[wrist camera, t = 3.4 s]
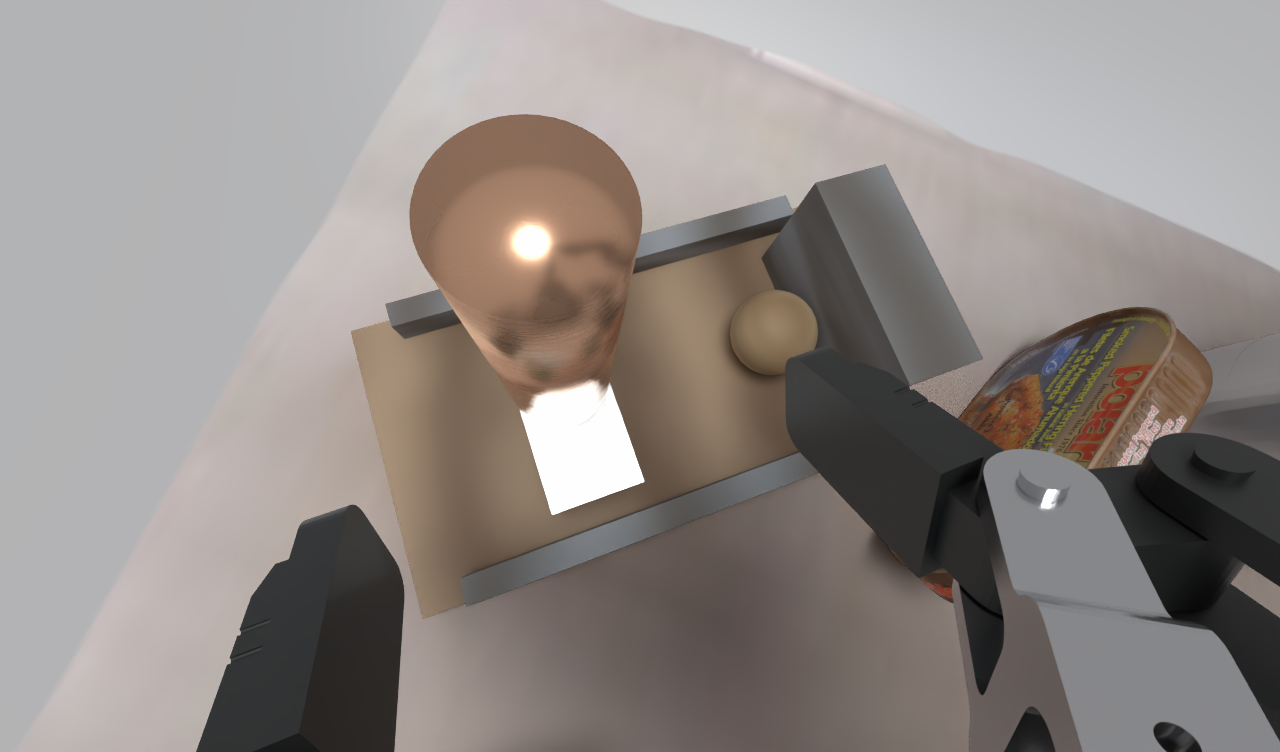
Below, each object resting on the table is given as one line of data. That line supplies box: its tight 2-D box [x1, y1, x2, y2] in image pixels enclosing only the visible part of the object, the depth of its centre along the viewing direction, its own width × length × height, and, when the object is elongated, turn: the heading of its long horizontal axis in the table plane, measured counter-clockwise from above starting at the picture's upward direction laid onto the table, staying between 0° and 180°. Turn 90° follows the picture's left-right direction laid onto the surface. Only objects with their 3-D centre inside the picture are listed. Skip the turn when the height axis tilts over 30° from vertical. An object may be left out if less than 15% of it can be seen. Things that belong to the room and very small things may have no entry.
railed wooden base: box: [351, 164, 983, 619], centre depth 21 cm, size 22×12×8 cm, turn 109°
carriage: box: [410, 114, 644, 515], centre depth 15 cm, size 3×8×15 cm, turn 19°
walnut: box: [730, 290, 818, 375], centre depth 22 cm, size 4×4×4 cm
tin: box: [889, 307, 1213, 603], centre depth 22 cm, size 15×3×8 cm, turn 135°
